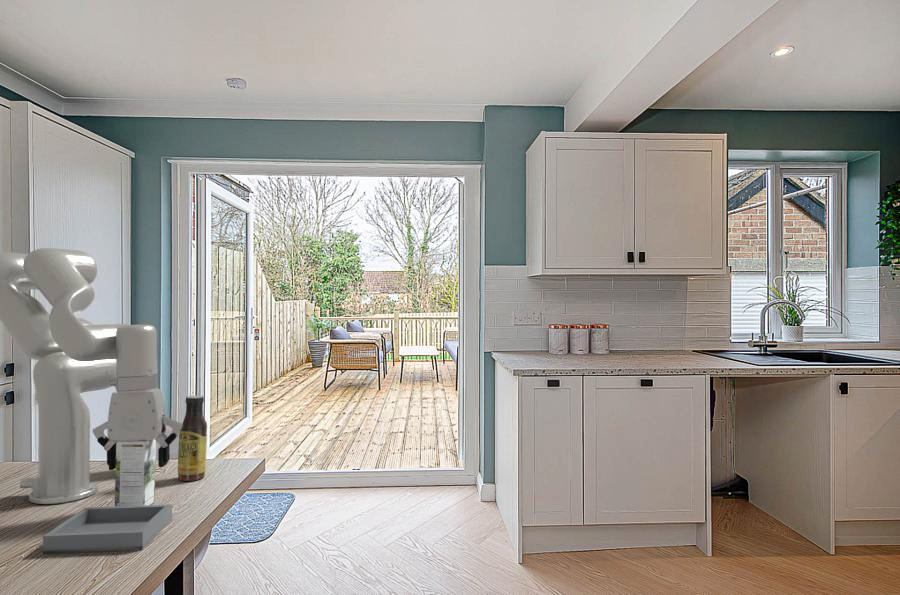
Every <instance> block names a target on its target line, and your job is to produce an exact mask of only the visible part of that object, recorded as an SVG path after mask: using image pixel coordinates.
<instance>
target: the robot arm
mask: <svg viewBox="0 0 900 595" xmlns="http://www.w3.org/2000/svg"><path fill="white" fill-rule="evenodd" d="M97 275H98V266H97V264H96V261H95V259H94V258H93V257H92V256H91V255H90V254H89V253H87V252H84V251H81V250H77V249H75V250H74V249H65V248H53V247H44V248H43V247H42V248H37V249H35V250H31V251H30V252H28V253H22V252H8V251H7V252H6V251H5V252H3V251H1V252H0V322H1V323H2V325H3V326H4V328H5V329H6V331H7V332H8V334H9V335H10V336H11V337H12V339H13V341H14V342H15V344H16V345H17V347H18V348H19V349H20V350H21V352H22V353H23V354H24V355H25V356H26V357H27V358H28V359H31V360H35V361H37V362H35V365H34V367H33V370H32V376H33V385H34V389H35V392H36V398H37V399H36V400H37V412H38V414H37V415H38V444H37V445H38V448H37V449H38V450H37V451H38V452H37V454H38V455H37V456H38V458H37V459H38V460H37V461H38V467H37V468H38V470H37V471H38V472H37V473H38V474H37V476H35V477H33V476H26V477H24V476H23V477H22V478H21V479H20V484H19V488H20V489H31V490H32V492H31V493H30V494H29V495H28V500H29V502H30V503H33V504H38V505H39V504H40V505H53V504H60V503H61V504H63V503H70V502H74V501H78V500H81V499H84V498H88V497H90V496H92V495H94V494H95V493H96V492H98V484H97V483H95V482H94V481H93V482H92V481H91V480H90V473H91V472H90V471H91V468H90V467H91V466H90V464H91V463H90V462H91V460H90V459H91V449H90V448H91V414H90V413H91V412H90V410H89V407H88V405H87V403H86V402H85V401H84V399H83V398H82V395H81V394H83V393H87V392H94V391H95V392H96V391H101V390H102V391H103V390H106V389H109V388H111V387H115V390H116V391H113V392H112V393H111V396H110V402H109V407H108V416H107V421H105V422H103V423H102V424H100V425H98V426H96V427H95V428H93V429H92V433H93V436H94V437H95V438H96V439H97V440H96V441H97V443H98V444H99V445H100V446H102V447H103V449H104V450H105V451H106V464H107V466H108V470H109V471H113V470H116V443H117V442H123V441H142V440H153V439H155V440H156V443H158V445H159V446H160V447H159V448H158V449H157V460H158V461H157V462H158V468H164V467H165V466H166V465H168V462H169V461H170V459H171V458H170V456H171V455H170V445H172V443H173V442H174V441H175V440H176V439H177V438H179V437H178V436H179V432H180V430H181V428H182V426H183V425H182V424H183V423H181V422H180V421H177V420H174V419H172V418H171V417H167V416H166V408H165V402H164V396H163V393H162V390H161V389H162V388H158V345H157V344H158V342H157V341H158V340H157V339H158V338H157V337H158V336H157V330H156V327H155V326H154V325H152V324H125V323H124V324H122V323H119V324H118V323H116V324H115V323H111V324H107V323H106V324H93V322H91V321H89V320H87V319H85V318H81V317H80V318H79V317H77V316H76V315H79V314H80V313H82V312H83V311H85V310H86V309H88V307H89V306H90V305H91V304H92V303H93V301H94V299H95V290H94V288H93V286H92V285H91V284H92V283H93V282H94V281H95V280H96V278H97ZM23 290H37V291H38V290H39V292H40V293H41V295H42V296H43V297H44V298H45V299H46V300H47V302H48V303H49V304H50V305H51V310H50V313H49V312H48V311H47V309H46V308H45V307H44V305H43V304H42V303H41V302H40V301H39V300H38V299H37V298H35V297H33V296H32V295H31V294H29V293H27V292H25V291H23ZM167 427H169V428H171V429H172V430H171V433H170V434H169V435H167V434H166V431H167ZM105 430H107V432H106V433H107V436H106V435H105V432H104V431H105Z"/></svg>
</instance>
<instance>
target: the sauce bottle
mask: <svg viewBox="0 0 900 595" xmlns="http://www.w3.org/2000/svg"><path fill="white" fill-rule="evenodd" d="M204 402H205V398H204V396H203V395H199V394H198V395H195V394H193V395H188V396H186V397H185V404H186V405H185V415H184V419H183V421H182V423H181V424H182V425H183V426H182V428H181V430H180V432H179V434H178V436H179V437H178V453H177V454H178V456H177V457H178V458H177V478H178V480H180V481H183V482H195V481H198V480H201V479H203V478H205V475H206V471H207V469H206V468H207V452H208V451H207V450H208V449H207V448H208V447H207V444H208V434H207V433H208V424H207V421H206V419H205V418H204V415H203V414H204V411H203V409H204V404H203V403H204ZM194 480H195V481H194Z"/></svg>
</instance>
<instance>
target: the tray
mask: <svg viewBox="0 0 900 595" xmlns="http://www.w3.org/2000/svg"><path fill="white" fill-rule="evenodd" d="M172 521H173V504H152V505H144V506H116V507H115V506H94V507H91V506H90V507H84V508H83V509H81V510H79V511H78V512H77V513H75V514H74V515H72V516H70V517H69V518H67V519H66V520H64V521H63V522H62V523H61V524H59V525H57V526H55V528H53V529H52V530H50V531H49V532H47V533H46V534H44V535H42V554H43V555H52V554H78V553H97V552H101V553H102V552H120V551H121V552H122V551H124V552H125V551H140V550H141V551H143V550H144V549H145V548H146V547H147V546H149V544H150V543H151V542H152V541H153V540H154V539H155V538H156V537H157V536H158V535H159V534H160V533H161V532H163V530H164V529H165V528H166V526H168V525H169V524H170V523H171V522H172Z"/></svg>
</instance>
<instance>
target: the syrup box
mask: <svg viewBox="0 0 900 595" xmlns="http://www.w3.org/2000/svg"><path fill="white" fill-rule="evenodd" d="M156 455H157V441H156V440H155V439H153V440H142V441H123V442H117V443H116V468H115V474H114V476H115V481H114V485H115V487H114V489H115V490H114V507H116V506H144V505H154V503H155V502H156V468H157V465H156V462H157V461H156V458H157V456H156Z"/></svg>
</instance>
